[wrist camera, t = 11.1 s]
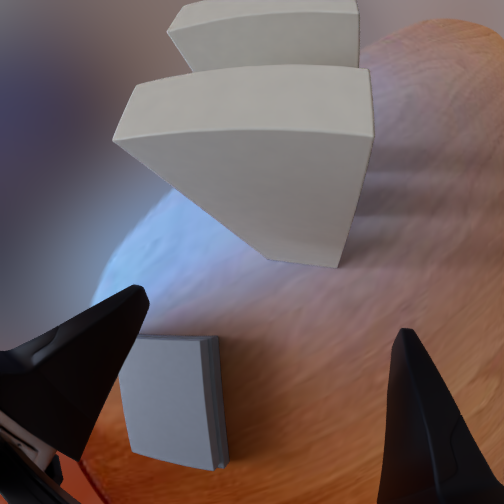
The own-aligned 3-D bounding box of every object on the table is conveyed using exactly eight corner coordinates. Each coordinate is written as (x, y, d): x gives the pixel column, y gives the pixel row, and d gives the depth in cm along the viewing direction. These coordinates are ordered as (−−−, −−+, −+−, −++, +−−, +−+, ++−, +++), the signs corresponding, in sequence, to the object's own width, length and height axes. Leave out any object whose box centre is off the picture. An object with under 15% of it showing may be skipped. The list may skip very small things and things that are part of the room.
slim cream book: (337, 268, 19) (375, 136, 4) (267, 259, 20) (111, 140, 5) (339, 245, 19) (369, 67, 4) (270, 237, 20) (135, 84, 5)
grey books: (229, 461, 18) (218, 476, 15) (148, 446, 20) (132, 456, 17) (218, 335, 20) (204, 339, 18) (133, 333, 22) (113, 335, 20)
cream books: (342, 216, 19) (360, 13, 4) (274, 210, 21) (165, 32, 6) (345, 155, 20) (343, -43, 5) (282, 150, 21) (212, -32, 6)
